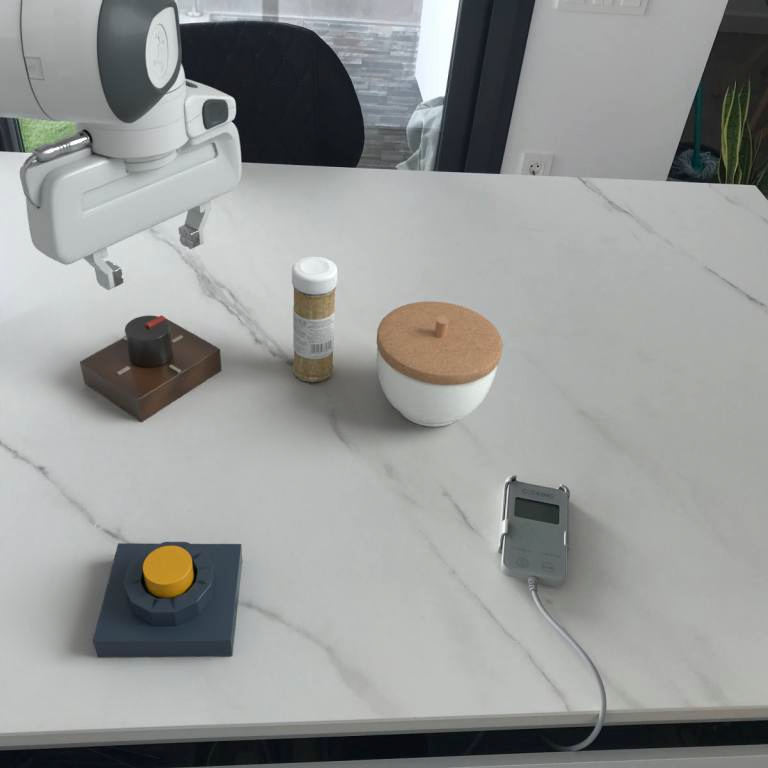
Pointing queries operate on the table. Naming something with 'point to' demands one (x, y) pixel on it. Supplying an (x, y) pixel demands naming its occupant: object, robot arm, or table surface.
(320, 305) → the sprinkles bottle
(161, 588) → the trigger button
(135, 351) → the dial
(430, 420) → the decorative box
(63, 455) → the table surface
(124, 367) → the dial panel
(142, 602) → the button housing
